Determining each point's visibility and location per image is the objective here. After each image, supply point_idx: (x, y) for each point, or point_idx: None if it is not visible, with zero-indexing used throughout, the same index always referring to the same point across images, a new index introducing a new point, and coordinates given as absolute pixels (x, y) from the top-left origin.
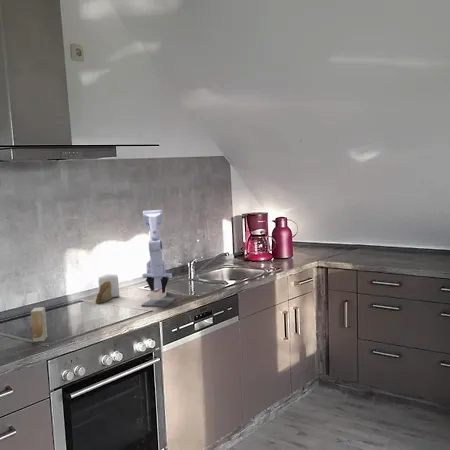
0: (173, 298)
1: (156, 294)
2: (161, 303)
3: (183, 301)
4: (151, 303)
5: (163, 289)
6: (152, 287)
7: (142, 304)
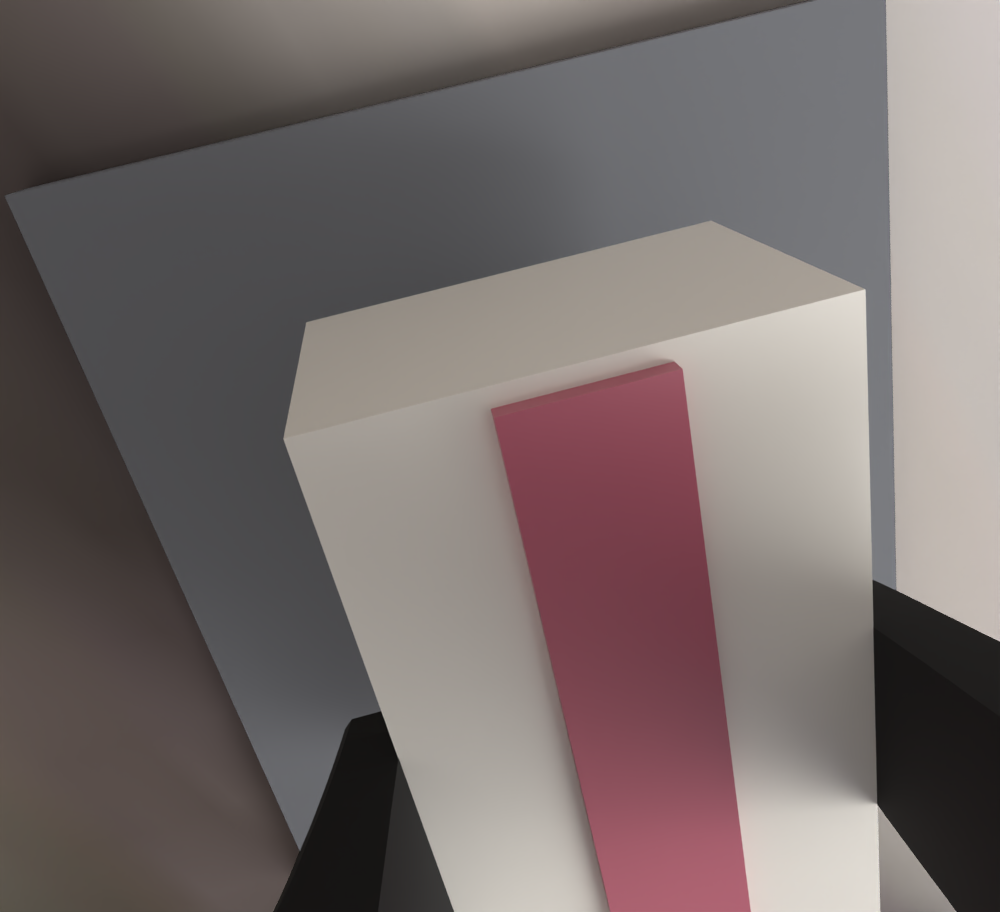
0: None
1: (451, 354)
2: None
3: (23, 853)
4: None
5: (314, 831)
6: (975, 785)
7: (880, 46)
